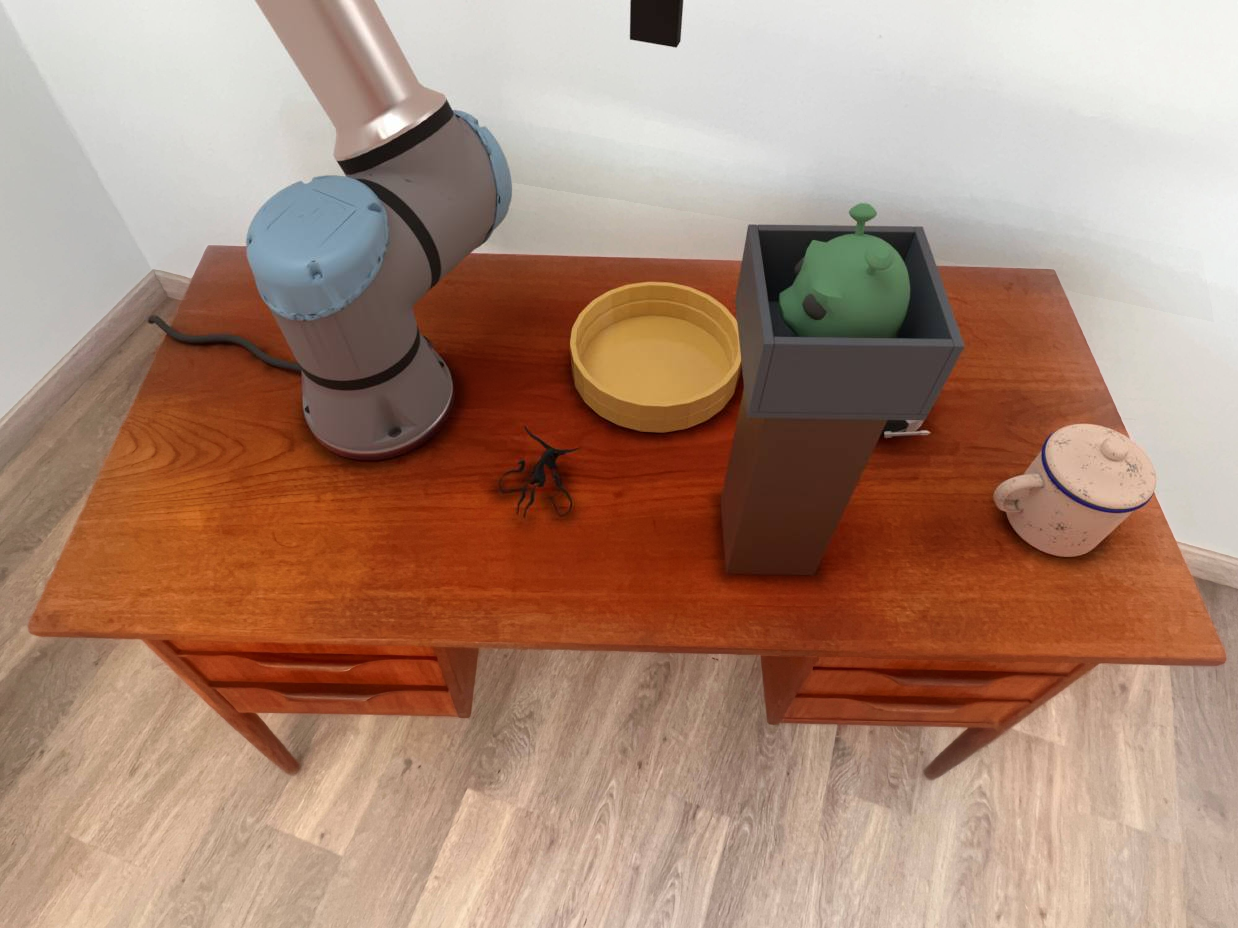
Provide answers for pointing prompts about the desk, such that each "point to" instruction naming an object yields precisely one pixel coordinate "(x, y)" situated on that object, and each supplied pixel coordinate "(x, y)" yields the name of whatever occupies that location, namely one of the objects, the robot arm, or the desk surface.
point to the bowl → (655, 356)
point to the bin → (820, 399)
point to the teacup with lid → (1077, 489)
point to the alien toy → (848, 287)
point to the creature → (541, 472)
